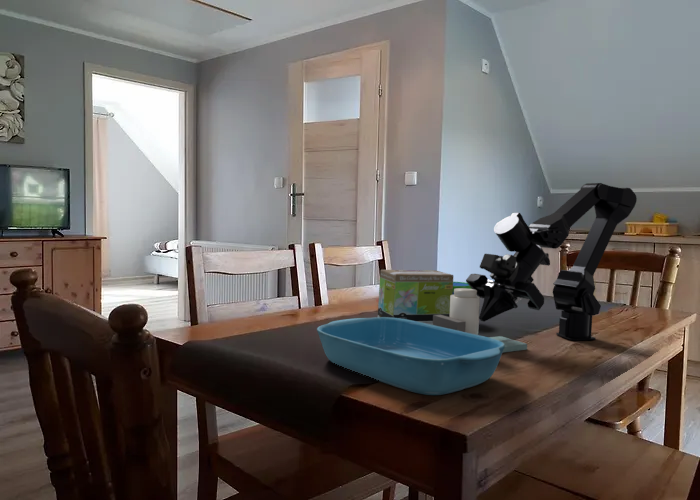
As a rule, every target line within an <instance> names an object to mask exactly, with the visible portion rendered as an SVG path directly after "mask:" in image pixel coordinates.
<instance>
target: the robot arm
mask: <svg viewBox="0 0 700 500" xmlns="http://www.w3.org/2000/svg"><path fill="white" fill-rule="evenodd" d="M637 199H638V198H637V195H636V193H635V192H634V191H633V188H630V187H616V186H612V185H608V184H606V183H602V182H591V183H585V184H583V185H582V186H581V187H580V189H579V190H578V191H577V192H576V193H575V194H574V195H572V196H571V197H570V198H569V199H567V200H566V201H565V202H564V203H563V204H562V205H561V206H560V207H559V208H558V209H557V210H555V211H554V212H553V213H551V214H549V215H545V216H543V217H540V218H538V219H537V220H535V221H533V222H532V223H530V224H529V225H528V224H527V222H526V221H525V219H524V217H523V215H522V214H521V212H512V213H511V214H510V215H508V216H506V217H505V218H503V219H501V220H500V221H497V222H496V224H495V225H494V227H493V231H494V234H495V235H496V236H497V238H498V239H499V240H500V242H501V243H502V245H503V246H504V248H505V249H506V251H508V252H515V253H514V254H507V253H506V254H505V255H503V256H502V255H498V254H491V253H484V255H483V257H482V260H481V262H480V264H479V268H480V269H482V270H485V271H486V272H488V273H490V274H489V277H490V278H491V279H492V280H490V279H489V278H488V277H487V276H486V275H485V274H480V273H470V274H469V276H468V277H467V278H466V279H465V283H468V284H469V286H470V287H471V288H472V289H475V290H477V296H479V297H480V299H483V303H482V306H481V310H480V312H479V321H480V322H483V323H485V322H486V321H489V320H491V319H492V318H495V317H497V316H499V315H501V314H503V313H506V312H508V311H510V310H513V309H517V308H518V307H519V305H518V302H519V301H522V300H523V299H526V300H528V302H527V307H528V309H531V310H535V311H540V310H541V309H542V307H543V306H544V304H545V296H544V295H543V294H542V292H541V291H540V290H539V288H538V286H537V285H536V284H535V283H534V282H533V281H534V278H533V277H532V276H533V274H534V273H535V272H536V271H537V269H538V267H540V266H547V267H549V266H550V265H551V260H550V257H549V255H550V254H549V253H548V252H545V250H544V249H555V250H556V249H559V247H562V245H563V243H564V242H565V241H566V240H567V238H568V237H569V235H570V229H571V228H572V226H573V225H575V224H576V223H577V222H578V221H579V220H580V219H581V218H582V217H583V216H585V215H586V213H588V212H589V211H590V210H591V209H592V208H593V207H594V212H595V218H594V221H593V223H592V225H591V227H590V230H589V232H588V234H587V236H586V238H585V240H584V242H583V244H582V246H581V248H580V250H579V252H578V253H577V254H578V255H577V256H576V259H575V261H574V263H573V266H572V267H570V269H567V270H566V269H561V270H560V271H559V272H558V275H557V278H556V280H555V281H554V282H553V286H554V287H553V288H552V295H553V300H554V305H555V309H556V310H560V311H561V312H560V314H561V315H560V317H559V323H558V324H559V325H558V332H555V335H557V336H559V337H562V338H564V339H567V340H570V341H594V340H595V341H596V337H594V336H592V331H593V329H592V328H593V316H596V315H599V314H600V310H601V303H599V300H598V299H597V298H596V296H595V295H594V293H595V290H596V286H595V281H594V280H595V278H594V275H595V273H596V271H597V268H598V266H599V264H600V262H601V260H602V258H603V256H604V253H605V251H606V249H607V247H608V245H609V243H610V240H611V238H612V236H613V234H614V231H615V230H616V228H617V226H618V225H619V224H620V223H621V222H623V221H624V220H625V219H627V218H628V217H629V216H630V214H631V213H632V211H633V210H634V208H635V206H636V203H637Z"/></svg>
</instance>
